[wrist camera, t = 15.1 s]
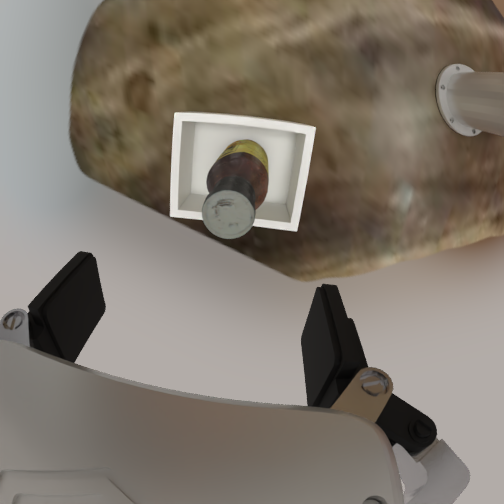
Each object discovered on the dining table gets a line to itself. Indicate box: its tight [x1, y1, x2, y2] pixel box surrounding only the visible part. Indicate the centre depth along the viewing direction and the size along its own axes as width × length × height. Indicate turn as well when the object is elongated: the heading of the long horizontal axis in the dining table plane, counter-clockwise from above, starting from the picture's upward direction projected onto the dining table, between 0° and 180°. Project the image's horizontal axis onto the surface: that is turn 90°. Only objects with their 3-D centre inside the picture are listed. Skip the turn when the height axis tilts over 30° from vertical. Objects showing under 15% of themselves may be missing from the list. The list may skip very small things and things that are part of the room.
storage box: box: [170, 112, 316, 231], centre depth 35 cm, size 16×13×8 cm
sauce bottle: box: [202, 139, 269, 239], centre depth 29 cm, size 7×6×20 cm
